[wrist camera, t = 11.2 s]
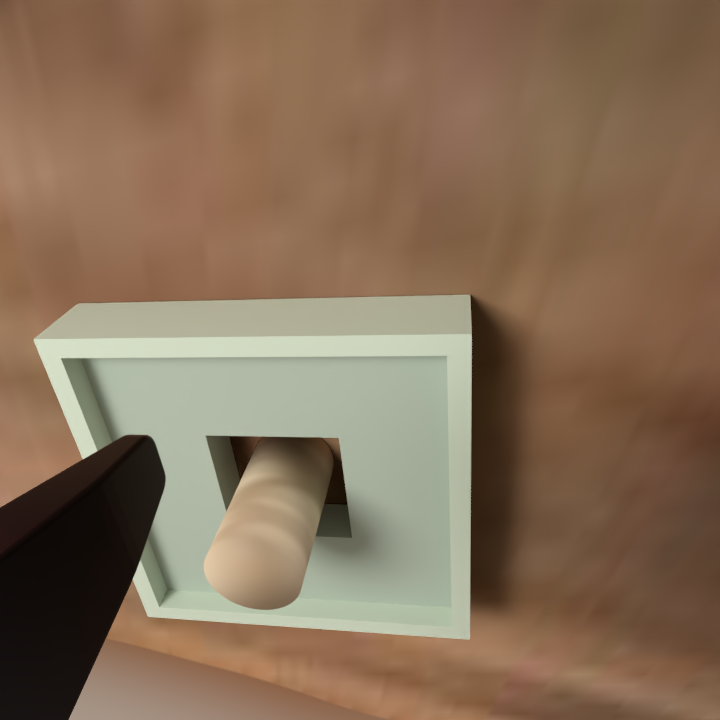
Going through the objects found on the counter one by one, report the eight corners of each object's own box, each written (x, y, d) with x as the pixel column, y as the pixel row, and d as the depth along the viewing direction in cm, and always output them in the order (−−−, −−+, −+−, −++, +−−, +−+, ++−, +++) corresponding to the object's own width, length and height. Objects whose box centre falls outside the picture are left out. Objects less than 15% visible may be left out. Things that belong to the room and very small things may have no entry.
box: (470, 294, 22) (471, 333, 19) (468, 584, 29) (469, 639, 27) (78, 303, 24) (33, 339, 22) (172, 567, 32) (148, 616, 29)
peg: (329, 426, 26) (294, 543, 20) (338, 489, 27) (308, 612, 22) (249, 425, 26) (193, 539, 21) (263, 487, 28) (215, 606, 23)
